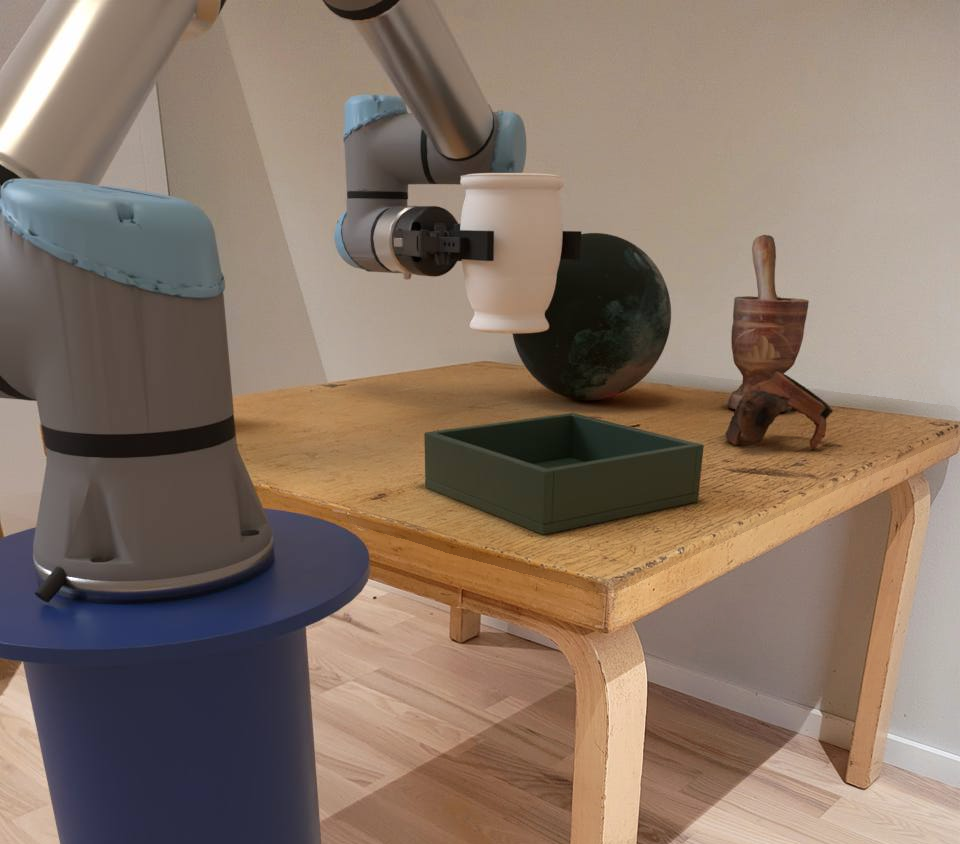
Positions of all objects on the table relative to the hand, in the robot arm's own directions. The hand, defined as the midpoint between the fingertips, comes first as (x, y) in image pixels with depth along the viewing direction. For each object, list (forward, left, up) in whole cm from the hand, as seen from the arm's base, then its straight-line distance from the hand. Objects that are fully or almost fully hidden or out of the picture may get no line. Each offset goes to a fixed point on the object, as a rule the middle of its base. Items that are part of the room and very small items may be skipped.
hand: (535, 245), depth 96 cm
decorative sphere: (+20, +14, -19) cm, 31 cm away
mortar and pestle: (+34, -1, -19) cm, 39 cm away
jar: (0, +4, -9) cm, 10 cm away
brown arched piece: (+18, -17, -19) cm, 32 cm away
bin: (-13, -20, -19) cm, 31 cm away
